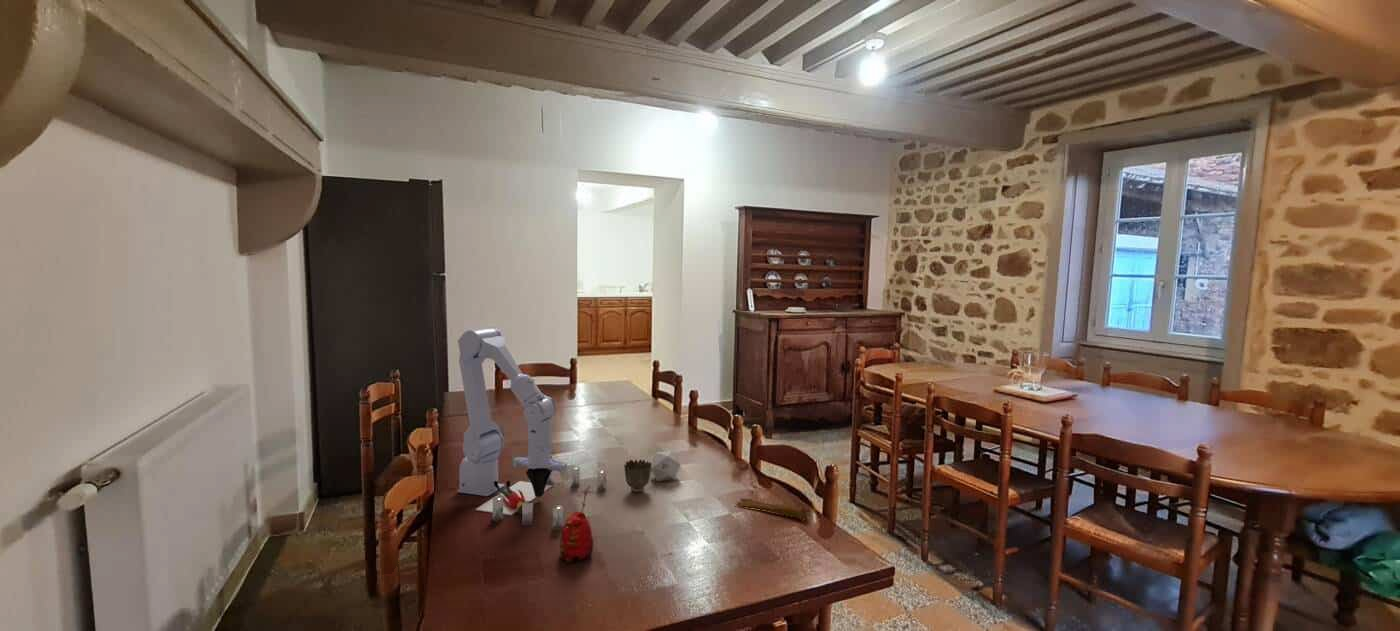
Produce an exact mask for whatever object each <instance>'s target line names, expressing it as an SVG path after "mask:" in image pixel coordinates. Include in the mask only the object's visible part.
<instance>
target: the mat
mask: <svg viewBox="0 0 1400 631" xmlns="http://www.w3.org/2000/svg"><path fill="white" fill-rule="evenodd" d="M551 487H552V485H551V484H546V486H545V489H544V492H546V491H547V490H549V489H550V488H551ZM510 489H511V490H512V491H514V492H515V493H517V494H518V496H519V497H521V495H520V493H519V491H518V489H519V490H521V492H522V493H523V496H524V498H525V500H526V501H532V502H533V500H535V499H536V498H537V497H535V493H534V490H533V486H532V484H531V481H529V482H527V481H521V480H519V481H518V482H515V483H514V484H513V485H512V486H511V485H510ZM504 490H505V491H506V492H508V491H507V489H504ZM508 493H509V492H508ZM502 495H503V496H504V494H502V493H501V492H500V493H499V494H497V495H496V496H494V497H492V498H491V499H490V500H488V501H486V502H484V503H483V504H481V505H480V506H479V507H477V508H475V511H478V512H484V513H485V512H486V513H491V514H493V498H495V497H502ZM504 497H505V496H504ZM505 499H506V501H507V502H508V503H509V504H512V503H511V501H509V500H508V499H507V498H506V497H505ZM517 512H518V511H517V508H514V509H511V508H510V507H508V506H506V505H505V503H504V501H503V516H510V517H511V516H513V515H514V514H516V513H517Z"/></svg>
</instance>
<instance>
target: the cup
mask: <svg viewBox="0 0 1400 631" xmlns="http://www.w3.org/2000/svg"><path fill="white" fill-rule="evenodd" d="M651 462H652V461H649V460H647V461H645V459H643V460H642V459H639V461H638V459H634V460H633V459H630V460H626V461H625V463H624V465H623V466H624V475H625V481H626V484H627V485H628V486H629V487H630V492H631V493H634V494H641V493H644V491H645V487H646V486H647V485H648V483H649V481H650V478H651V473H652V471H651Z"/></svg>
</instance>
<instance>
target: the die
mask: <svg viewBox="0 0 1400 631" xmlns="http://www.w3.org/2000/svg"><path fill="white" fill-rule="evenodd" d="M650 462H651V474H652V475H653V476H654V478H655V479H656V481H657V482H660V481H661V482H662V481H664V482H665V481H673V480H675V479H676V476H677V474H678V472H679V470H680V467H681V465H682V464H681V462H680V461H679V459H678V458H677V457H676V455H675V453H674V452H673V450H667V451H665V450H664V451H657V452H656V451H655V452H654V455H653V456H652V459H651V461H650Z"/></svg>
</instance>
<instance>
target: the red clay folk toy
mask: <svg viewBox="0 0 1400 631" xmlns="http://www.w3.org/2000/svg"><path fill="white" fill-rule="evenodd" d="M590 488H591V486H590V485H588V486H587V488H585V489H584V491H583V490H582V492H581V493H583V494H584V496H583V502H581V505H582V507H581V511H580V512H579V511H575V512H573V513H572V514H571V515H569V516H568V517H567V518H566V520H565V523H564V524H563V526H562V529H561V535H560V538H559V550H560V551H559V553H560V558H561V560H563V561H564V562H566V563H568V564H571V563H573V562H580V561H581V562H582V561H583V560H585V559H586V558H588V557H589V556H590V555H591V554H592V553H593V550H594V549H593V547H594V539H593V535H592V528H591V524H590V522H589V520H588V518H587V516H586V514H585V513H584V512H583V511H584V508H585V507H586V503H585V502H586V497H587V494H588V493H591V492H592V491H591V490H590V491H589V489H590Z"/></svg>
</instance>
